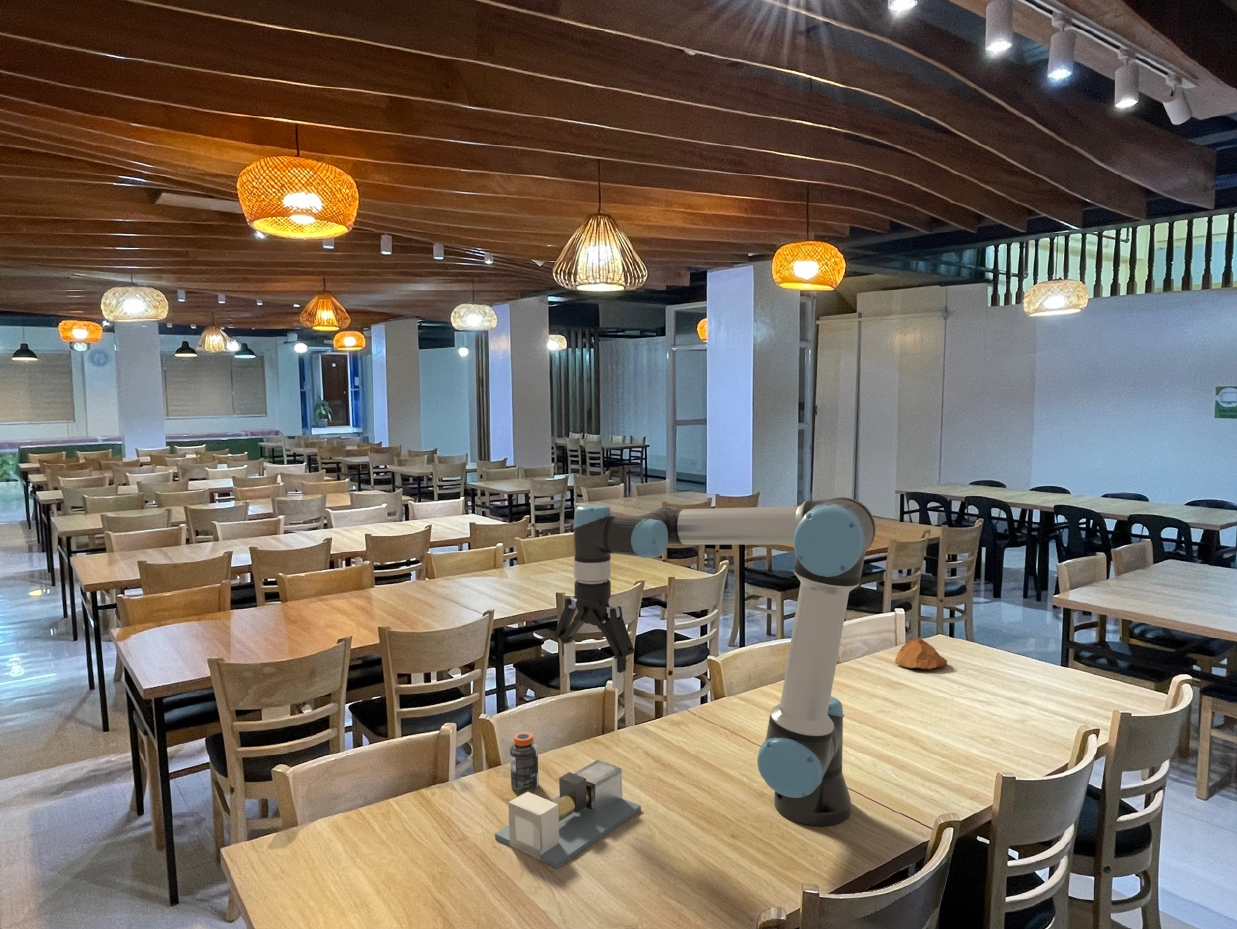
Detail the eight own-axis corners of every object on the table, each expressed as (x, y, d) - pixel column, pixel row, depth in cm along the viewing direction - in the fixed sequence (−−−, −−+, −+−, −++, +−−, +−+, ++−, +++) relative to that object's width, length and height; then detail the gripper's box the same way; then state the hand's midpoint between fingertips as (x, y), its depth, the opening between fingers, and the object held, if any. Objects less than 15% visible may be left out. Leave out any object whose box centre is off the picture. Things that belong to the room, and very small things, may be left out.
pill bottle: (543, 782, 175) (542, 732, 174) (531, 795, 170) (530, 743, 169) (518, 778, 177) (517, 728, 176) (506, 791, 172) (504, 739, 171)
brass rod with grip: (613, 793, 165) (613, 762, 164) (564, 824, 153) (563, 791, 153) (597, 787, 168) (596, 756, 167) (547, 817, 156) (546, 784, 155)
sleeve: (622, 798, 166) (621, 768, 165) (595, 815, 159) (595, 784, 158) (598, 789, 170) (597, 759, 169) (571, 805, 163) (570, 775, 162)
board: (640, 810, 163) (640, 805, 163) (556, 868, 143) (556, 863, 143) (581, 787, 173) (581, 782, 173) (495, 838, 153) (494, 833, 153)
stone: (905, 681, 240) (891, 648, 242) (896, 676, 254) (884, 645, 256) (953, 664, 238) (939, 632, 240) (942, 660, 252) (929, 629, 255)
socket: (559, 848, 150) (558, 804, 149) (540, 860, 146) (539, 815, 145) (528, 834, 155) (527, 791, 154) (509, 845, 151) (508, 802, 150)
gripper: (651, 585, 161) (651, 688, 163) (562, 567, 177) (563, 661, 179) (627, 592, 155) (627, 698, 157) (537, 574, 172) (538, 670, 174)
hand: (593, 679), depth 168 cm, fingers open, 13 cm apart
